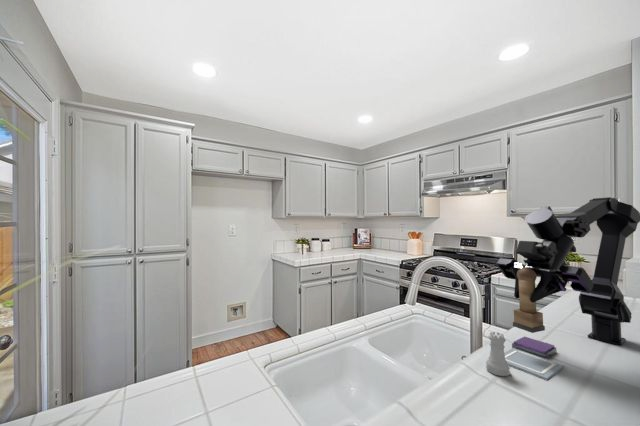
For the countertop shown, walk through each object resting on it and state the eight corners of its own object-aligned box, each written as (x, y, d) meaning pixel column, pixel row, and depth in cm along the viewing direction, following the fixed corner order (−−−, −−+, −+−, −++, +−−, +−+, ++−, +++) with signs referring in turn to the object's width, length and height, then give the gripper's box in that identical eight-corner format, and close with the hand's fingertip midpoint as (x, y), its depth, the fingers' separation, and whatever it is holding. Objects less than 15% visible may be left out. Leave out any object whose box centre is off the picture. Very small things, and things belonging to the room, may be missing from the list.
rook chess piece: (514, 378, 56) (513, 339, 56) (490, 375, 57) (489, 337, 57) (504, 367, 60) (503, 331, 60) (482, 365, 61) (481, 329, 61)
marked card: (513, 349, 69) (513, 347, 69) (564, 366, 60) (564, 364, 60) (494, 359, 64) (494, 357, 64) (546, 380, 55) (546, 377, 55)
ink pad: (523, 342, 73) (523, 335, 73) (556, 352, 67) (556, 345, 68) (512, 348, 70) (511, 341, 70) (545, 359, 64) (545, 352, 64)
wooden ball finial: (525, 323, 67) (522, 265, 68) (544, 330, 63) (542, 268, 64) (512, 326, 66) (510, 266, 66) (532, 332, 62) (529, 269, 62)
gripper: (500, 229, 76) (471, 270, 71) (583, 230, 58) (552, 284, 54) (519, 256, 78) (493, 297, 74) (605, 265, 61) (577, 320, 56)
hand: (523, 299), depth 64 cm, fingers closed on wooden ball finial, 3 cm apart
